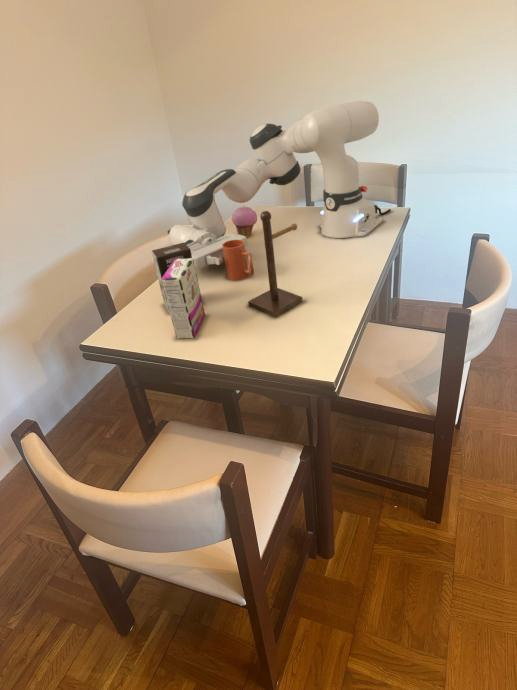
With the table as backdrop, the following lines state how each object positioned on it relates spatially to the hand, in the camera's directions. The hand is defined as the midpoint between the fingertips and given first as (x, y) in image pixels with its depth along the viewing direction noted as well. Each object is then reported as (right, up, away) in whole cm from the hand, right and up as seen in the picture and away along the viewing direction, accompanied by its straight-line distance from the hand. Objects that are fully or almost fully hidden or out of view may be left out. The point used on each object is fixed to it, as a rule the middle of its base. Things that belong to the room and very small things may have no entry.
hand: (233, 256), depth 141 cm
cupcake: (+2, +13, +30) cm, 33 cm away
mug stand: (+14, -14, -13) cm, 24 cm away
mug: (+3, -6, +2) cm, 7 cm away
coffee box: (-13, -15, -8) cm, 22 cm away
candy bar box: (-10, -22, -19) cm, 31 cm away
